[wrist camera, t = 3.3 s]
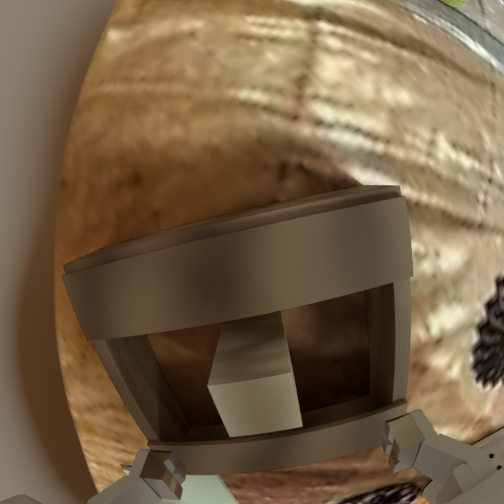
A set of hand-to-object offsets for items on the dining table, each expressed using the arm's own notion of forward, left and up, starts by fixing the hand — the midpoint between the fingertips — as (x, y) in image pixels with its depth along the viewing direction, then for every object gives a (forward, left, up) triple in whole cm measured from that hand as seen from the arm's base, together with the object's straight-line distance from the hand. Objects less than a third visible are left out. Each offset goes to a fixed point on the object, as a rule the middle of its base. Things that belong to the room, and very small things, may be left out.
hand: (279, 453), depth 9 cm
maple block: (+1, +1, -11) cm, 11 cm away
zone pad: (+15, +23, -11) cm, 29 cm away
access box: (+1, +1, -11) cm, 11 cm away
